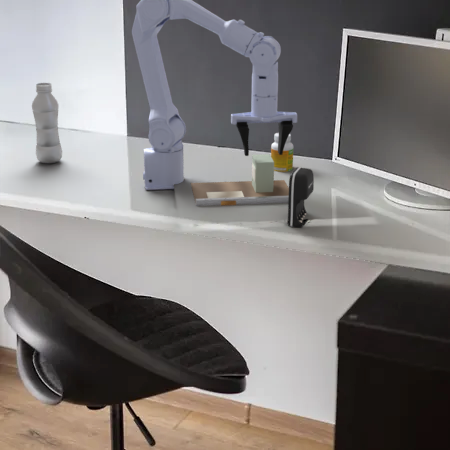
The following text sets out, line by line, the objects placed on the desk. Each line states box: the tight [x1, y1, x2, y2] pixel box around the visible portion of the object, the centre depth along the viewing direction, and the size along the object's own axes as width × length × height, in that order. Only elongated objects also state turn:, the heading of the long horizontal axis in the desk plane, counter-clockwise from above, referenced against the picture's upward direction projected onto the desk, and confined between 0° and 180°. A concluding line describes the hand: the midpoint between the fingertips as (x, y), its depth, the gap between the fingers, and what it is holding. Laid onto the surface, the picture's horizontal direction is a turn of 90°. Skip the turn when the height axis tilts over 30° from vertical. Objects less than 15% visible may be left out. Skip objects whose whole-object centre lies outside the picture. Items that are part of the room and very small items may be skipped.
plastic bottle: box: [31, 82, 63, 164], centre depth 206 cm, size 6×7×20 cm
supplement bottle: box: [270, 132, 294, 173], centre depth 201 cm, size 5×5×10 cm
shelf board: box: [190, 179, 289, 207], centre depth 186 cm, size 22×15×2 cm
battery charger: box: [287, 166, 315, 228], centre depth 170 cm, size 7×4×11 cm, turn 160°
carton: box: [251, 153, 275, 193], centre depth 187 cm, size 4×6×7 cm
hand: (263, 154), depth 186 cm, fingers open, 7 cm apart
